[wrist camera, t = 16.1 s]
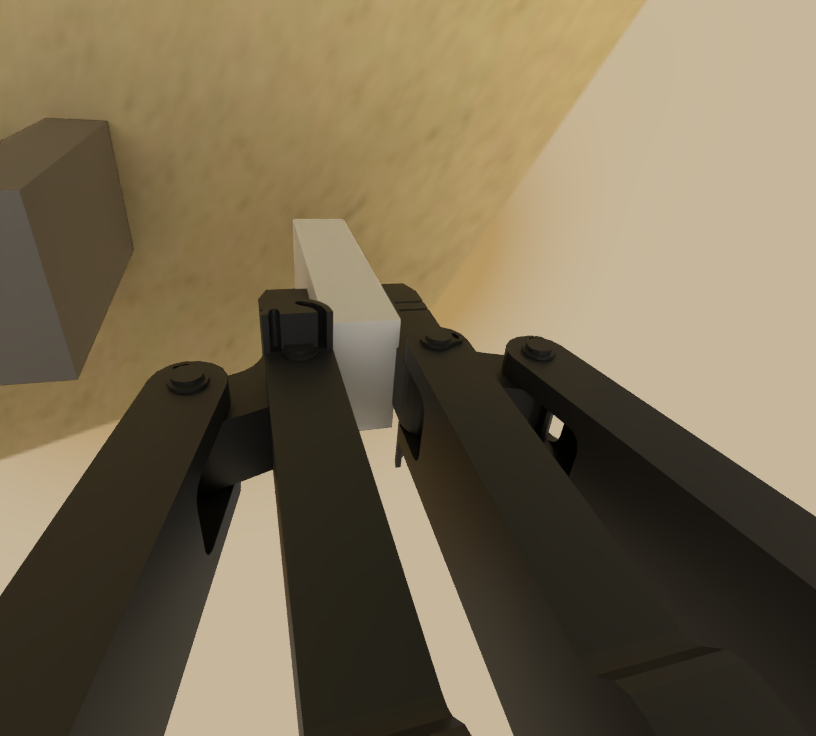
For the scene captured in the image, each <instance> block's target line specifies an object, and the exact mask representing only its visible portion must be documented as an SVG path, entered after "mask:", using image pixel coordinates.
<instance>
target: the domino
mask: <svg viewBox="0 0 816 736" xmlns="http://www.w3.org/2000/svg"><path fill="white" fill-rule="evenodd" d="M133 250H134V249H133V244H132V239H131V234H130V229H129V225H128V220H127V215H126V210H125V205H124V200H123V195H122V191H121V186H120V181H119V176H118V171H117V166H116V161H115V157H114V152H113V147H112V142H111V137H110V132H109V127H108V123H107V121H98V120H77V119H56V118H45V119H43V120H41V121H39V122H37V123H35V124H33V125H31V126H29V127H27V128H25V129H23V130H21V131H19V132H17V133H16V134H14V135H12V136H10V137H8V138H6V139H4V140H2V141H0V385H12V384H26V383H39V382H53V381H66V380H78V378H79V375H80V373H81V371H82V368H83V366H84V364H85V361H86V359H87V357H88V354H89V352H90V350H91V347H92V345H93V343H94V341H95V338H96V336H97V334H98V331H99V329H100V327H101V324H102V322H103V320H104V317H105V315H106V313H107V310H108V308H109V306H110V304H111V301H112V299H113V297H114V294H115V292H116V290H117V287H118V285H119V283H120V280H121V278H122V276H123V273H124V271H125V269H126V266H127V264H128V262H129V260H130V257H131V255H132V253H133Z"/></svg>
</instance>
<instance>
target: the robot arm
mask: <svg viewBox="0 0 816 736" xmlns="http://www.w3.org/2000/svg"><path fill="white" fill-rule="evenodd" d="M293 246H294V274H295V289H278V290H266V291H265V292H264V293H263V294H262V295H261V297H260V298H259V299H258V303H259V316H260V329H261V342H262V354H263V355H262V357H261V359H260V360H259V362H257V363H256V364H255V365H254V366H252V367H251V368H249V369H247V370H245V371H242V372H239V373H236V374H233V375H229V376H228V375H227V373H226V372H225V371H224V369H223V368H221V367H219V366H217V365H215V364H213V363H208V362H201V361H193V362H189V361H186V362H180V363H176V364H173V365H170V366H168V367H165V368H163V369H161V370H159V371H157V372H156V373H155V374H154V375H153V376H152V377H151V378H150V379H148V381H147V382H146V384H145V385H144V387H143V388H142V390H141V391H140V393H139V394H138V395H137V397H136V398H135V400H134V401H133V403H132V404H131V406H130V407H129V409H128V410H127V412H126V413H125V414H124V416H123V417H122V419H121V420H120V422H119V423H118V425H117V426H116V428H115V429H114V431H113V432H112V434H111V435H110V436H109V438H108V439H107V441H106V443H105V444H104V445H103V447H102V448H101V450H100V451H99V452H98V454H97V455H96V457H95V458H94V460H93V461H92V463H91V464H90V466H89V467H88V469H87V470H86V471H85V473H84V474H83V476H82V478H81V479H80V480H79V482H78V483H77V485H76V486H75V488H74V489H73V491H72V492H71V494H70V495H69V496H68V498H67V499H66V501H65V502H64V504H63V505H62V507H61V508H60V510H59V511H58V513H57V514H56V515H55V517H54V518H53V520H52V521H51V523H50V524H49V526H48V527H47V528H46V530H45V531H44V533H43V534H42V536H41V537H40V539H39V540H38V542H37V543H36V545H35V546H34V548H33V549H32V551H31V552H30V553H29V555H28V556H27V558H26V559H25V561H24V562H23V564H22V565H21V566H20V568H19V569H18V571H17V572H16V574H15V575H14V577H13V578H12V580H11V581H10V583H9V584H8V585H7V587H6V588H5V590H4V591H3V593H2V594H1V596H0V736H164V733H165V730H166V727H167V724H168V721H169V717H170V714H171V711H172V708H173V705H174V702H175V698H176V695H177V692H178V689H179V686H180V683H181V679H182V676H183V673H184V670H185V666H186V663H187V660H188V657H189V654H190V651H191V647H192V644H193V641H194V638H195V634H196V632H197V628H198V625H199V622H200V618H201V616H202V612H203V609H204V606H205V603H206V600H207V596H208V593H209V590H210V587H211V584H212V581H213V577H214V574H215V571H216V568H217V565H218V561H219V558H220V555H221V552H222V548H223V546H224V542H225V539H226V536H227V533H228V529H229V526H230V523H231V520H232V517H233V514H234V510H235V507H236V504H237V501H238V497H239V495H240V491H241V481H244V480H247V479H249V478H252V477H254V476H257V475H260V474H262V473H265V472H267V471H270V470H273V474H274V484H275V494H276V503H277V515H278V525H279V535H280V544H281V555H282V565H283V576H284V586H285V596H286V607H287V617H288V626H289V637H290V647H291V658H292V668H293V678H294V688H295V698H296V708H297V717H298V718H297V719H298V729H299V736H471V735H470V732H469V731H468V729H467V727H466V726H465V724H463V723H462V722H460V721H459V720H457V719H456V718H454V717H453V716H452V714H451V713H450V711H449V709H448V708H447V705H446V702H445V700H444V697H443V694H442V691H441V688H440V685H439V682H438V679H437V676H436V672H435V669H434V666H433V663H432V660H431V657H430V653H429V650H428V647H427V644H426V641H425V638H424V634H423V631H422V628H421V625H420V622H419V619H418V615H417V612H416V609H415V606H414V603H413V600H412V597H411V593H410V590H409V587H408V584H407V581H406V578H405V575H404V572H403V568H402V565H401V562H400V559H399V556H398V553H397V549H396V546H395V543H394V540H393V537H392V534H391V531H390V527H389V524H388V521H387V518H386V514H385V511H384V508H383V505H382V502H381V499H380V496H379V493H378V489H377V486H376V483H375V480H374V477H373V473H372V470H371V467H370V464H369V461H368V458H367V455H366V451H365V448H364V445H363V442H362V439H361V436H360V433H359V431H362V430H371V429H380V428H389V427H392V418H393V407H394V409H395V412H396V414H397V417H398V419H399V424H398V434H397V446H396V455H395V466H396V467H400V466H401V458H402V457H403V455H404V458H405V460H406V463H407V466H408V468H409V470H410V473H411V476H412V478H413V481H414V483H415V486H416V488H417V491H418V493H419V496H420V498H421V501H422V503H423V506H424V509H425V511H426V514H427V516H428V519H429V521H430V524H431V526H432V529H433V531H434V534H435V537H436V539H437V542H438V544H439V546H440V549H441V552H442V554H443V557H444V560H445V562H446V565H447V567H448V570H449V572H450V575H451V577H452V580H453V582H454V585H455V587H456V590H457V593H458V595H459V598H460V600H461V603H462V605H463V608H464V610H465V613H466V615H467V618H468V620H469V623H470V625H471V628H472V631H473V633H474V636H475V638H476V641H477V643H478V646H479V649H480V651H481V654H482V656H483V659H484V661H485V664H486V666H487V669H488V671H489V674H490V676H491V679H492V682H493V684H494V686H495V689H496V692H497V694H498V697H499V699H500V702H501V705H502V707H503V709H504V712H505V715H506V717H507V720H508V722H509V725H510V727H511V730H512V732H513V735H514V736H816V517H815V516H814V515H812V514H811V513H809V512H808V511H806V510H805V509H803V508H802V507H800V506H799V505H798V504H796V503H795V502H793V501H791V500H790V499H789V498H787V497H786V496H784V495H783V494H781V493H779V492H778V491H777V490H775V489H774V488H772V487H771V486H769V485H768V484H766V483H765V482H763V481H762V480H760V479H759V478H757V477H756V476H754V475H753V474H751V473H750V472H748V471H747V470H745V469H744V468H742V467H741V466H739V465H738V464H736V463H735V462H733V461H732V460H730V459H729V458H727V457H726V456H725V455H723V454H722V453H720V452H719V451H717V450H716V449H714V448H713V447H711V446H710V445H708V444H707V443H705V442H704V441H702V440H701V439H699V438H698V437H696V436H695V435H693V434H692V433H690V432H689V431H687V430H686V429H684V428H683V427H681V426H680V425H678V424H677V423H675V422H674V421H672V420H671V419H669V418H668V417H666V416H665V415H663V414H662V413H660V412H659V411H657V410H656V409H654V408H653V407H652V406H650V405H649V404H647V403H646V402H644V401H642V400H641V399H640V398H638V397H637V396H635V395H634V394H632V393H631V392H629V391H628V390H626V389H625V388H623V387H622V386H620V385H619V384H617V383H616V382H614V381H613V380H611V379H610V378H608V377H607V376H605V375H604V374H602V373H601V372H599V371H598V370H596V369H595V368H593V367H592V366H591V365H589V364H588V363H586V362H585V361H583V360H582V359H580V358H579V357H577V356H576V355H574V354H573V353H571V352H570V351H568V350H566V349H565V348H564V347H562V346H561V345H559V344H557V343H555V342H553V341H551V340H547V339H544V338H542V337H538V336H535V337H534V336H524V337H516V338H515V339H512V340H510V341H509V342H508V344H507V345H506V349H505V354H504V355H498V354H489V353H481V352H476V351H475V350H474V348H473V347H472V345H471V344H470V343H469V341H468V340H467V339H466V338H465V337H464V336H463V335H461V334H460V333H458V332H456V331H453V330H451V329H447V328H442V327H440V326H439V324H438V323H437V321H436V320H435V318H434V317H433V315H432V314H431V312H430V311H429V310H427V307H426V305H425V304H424V302H422V299H421V298H420V296H419V295H418V293H417V292H416V291H415V290H413V289H411V288H410V287H408V286H406V285H405V284H380V282H379V280H378V279H377V277H376V275H375V273H374V272H373V270H372V268H371V266H370V265H369V263H368V261H367V259H366V258H365V256H364V254H363V252H362V250H361V249H360V247H359V245H358V243H357V242H356V240H355V238H354V236H353V235H352V233H351V231H350V229H349V228H348V226H347V224H346V222H345V221H344V219H293ZM553 415H555V416H556V417H557V418H558V419H560V420H561V421H562V422H563V423H564V426H563V429H562V432H561V436H560V437H559V439H557V438H555V437H553V436H552V435H551V434H550V433H549V428H550V424H551V421H552V418H553Z"/></svg>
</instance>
